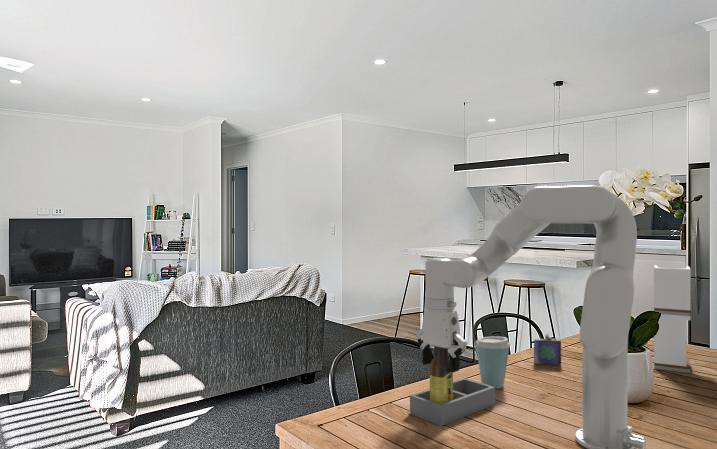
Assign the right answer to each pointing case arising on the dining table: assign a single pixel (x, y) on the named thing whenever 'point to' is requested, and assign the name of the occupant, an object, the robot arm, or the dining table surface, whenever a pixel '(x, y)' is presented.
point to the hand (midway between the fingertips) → (440, 367)
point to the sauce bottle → (441, 377)
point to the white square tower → (672, 317)
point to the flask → (547, 351)
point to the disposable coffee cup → (492, 359)
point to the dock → (453, 402)
